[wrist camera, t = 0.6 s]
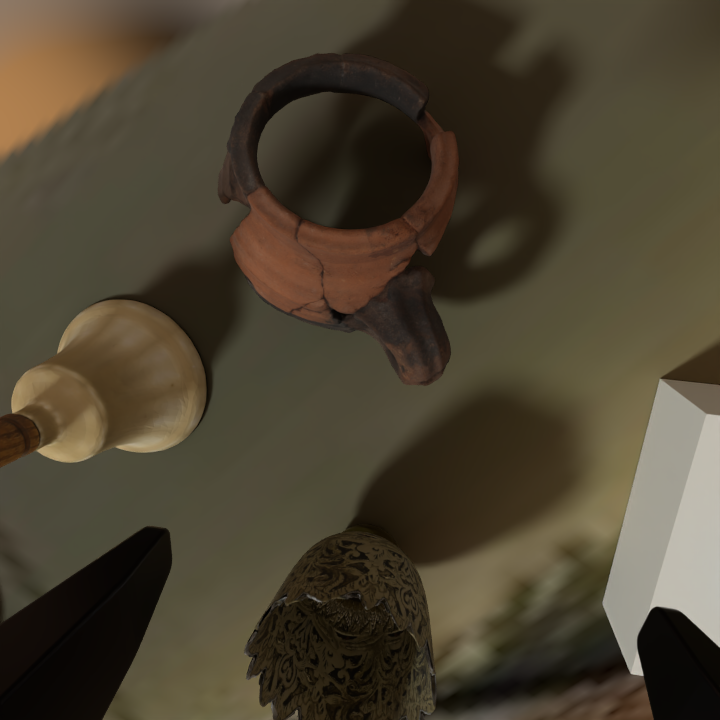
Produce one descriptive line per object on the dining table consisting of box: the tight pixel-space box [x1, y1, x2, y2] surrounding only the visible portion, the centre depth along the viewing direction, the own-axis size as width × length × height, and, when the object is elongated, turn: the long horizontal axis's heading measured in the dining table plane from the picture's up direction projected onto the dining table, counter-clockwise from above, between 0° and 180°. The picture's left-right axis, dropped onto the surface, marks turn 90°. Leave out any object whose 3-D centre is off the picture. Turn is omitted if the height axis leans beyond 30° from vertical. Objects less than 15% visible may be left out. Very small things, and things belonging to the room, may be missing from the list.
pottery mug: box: [218, 53, 459, 386], centre depth 19 cm, size 12×10×8 cm
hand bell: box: [0, 299, 207, 468], centre depth 18 cm, size 8×8×16 cm
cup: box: [244, 524, 436, 720], centre depth 22 cm, size 8×7×8 cm
